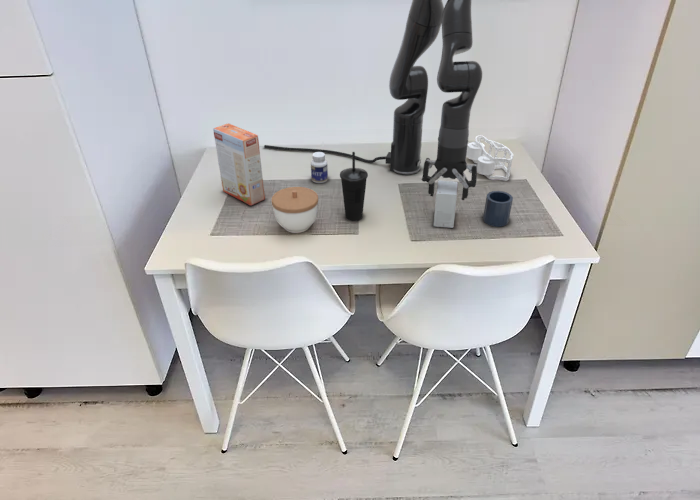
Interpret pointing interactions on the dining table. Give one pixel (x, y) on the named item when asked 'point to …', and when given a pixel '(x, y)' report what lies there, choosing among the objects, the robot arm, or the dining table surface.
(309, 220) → the lidded bowl
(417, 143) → the robot arm
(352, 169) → the drinking cup
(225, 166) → the cracker box
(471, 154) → the skeletal toy car
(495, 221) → the coffee cup
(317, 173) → the pill bottle
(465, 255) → the dining table surface
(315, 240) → the dining table surface
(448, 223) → the small box
